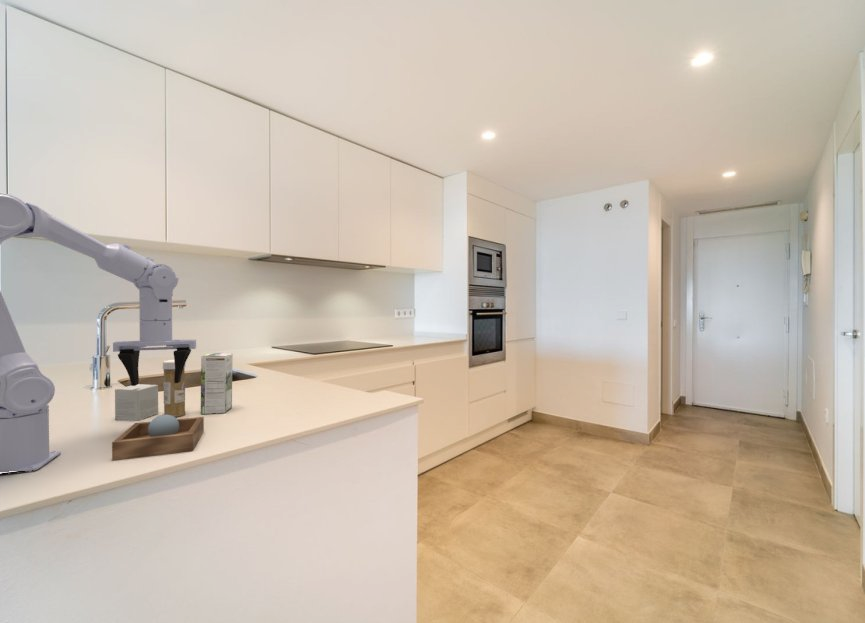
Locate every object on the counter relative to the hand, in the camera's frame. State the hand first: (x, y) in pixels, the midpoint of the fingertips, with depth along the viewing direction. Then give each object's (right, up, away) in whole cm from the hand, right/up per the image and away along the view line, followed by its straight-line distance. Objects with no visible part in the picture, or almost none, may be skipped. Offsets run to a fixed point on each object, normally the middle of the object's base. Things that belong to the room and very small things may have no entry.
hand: (156, 383), depth 84 cm
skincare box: (-11, -10, +10) cm, 18 cm away
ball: (+7, -10, -9) cm, 15 cm away
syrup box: (+5, -10, +15) cm, 18 cm away
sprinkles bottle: (-3, -10, +11) cm, 15 cm away
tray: (+7, -10, -9) cm, 15 cm away
